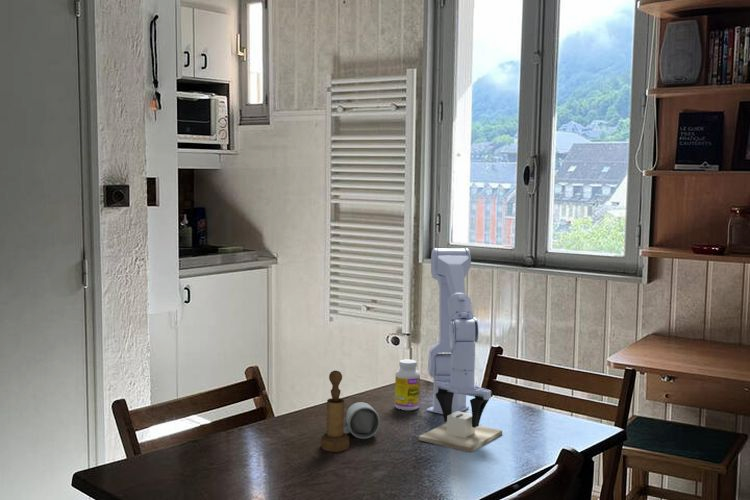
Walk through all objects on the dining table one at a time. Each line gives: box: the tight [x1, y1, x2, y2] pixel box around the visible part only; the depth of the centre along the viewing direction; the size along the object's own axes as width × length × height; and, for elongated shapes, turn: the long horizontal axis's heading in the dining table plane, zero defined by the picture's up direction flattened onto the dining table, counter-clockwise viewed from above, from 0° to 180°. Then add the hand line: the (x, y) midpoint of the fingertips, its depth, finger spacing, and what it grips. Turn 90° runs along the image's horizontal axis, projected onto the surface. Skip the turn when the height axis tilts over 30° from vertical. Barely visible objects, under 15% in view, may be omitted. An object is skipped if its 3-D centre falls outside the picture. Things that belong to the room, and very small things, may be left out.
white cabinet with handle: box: [446, 411, 475, 438], centre depth 199 cm, size 5×5×5 cm
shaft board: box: [418, 422, 503, 453], centre depth 199 cm, size 16×14×4 cm
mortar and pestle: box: [320, 370, 350, 453], centre depth 190 cm, size 7×6×18 cm
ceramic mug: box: [343, 401, 381, 440], centre depth 201 cm, size 11×8×8 cm
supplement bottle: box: [394, 358, 421, 411], centre depth 223 cm, size 7×7×13 cm
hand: (461, 423), depth 199 cm, fingers open, 7 cm apart
